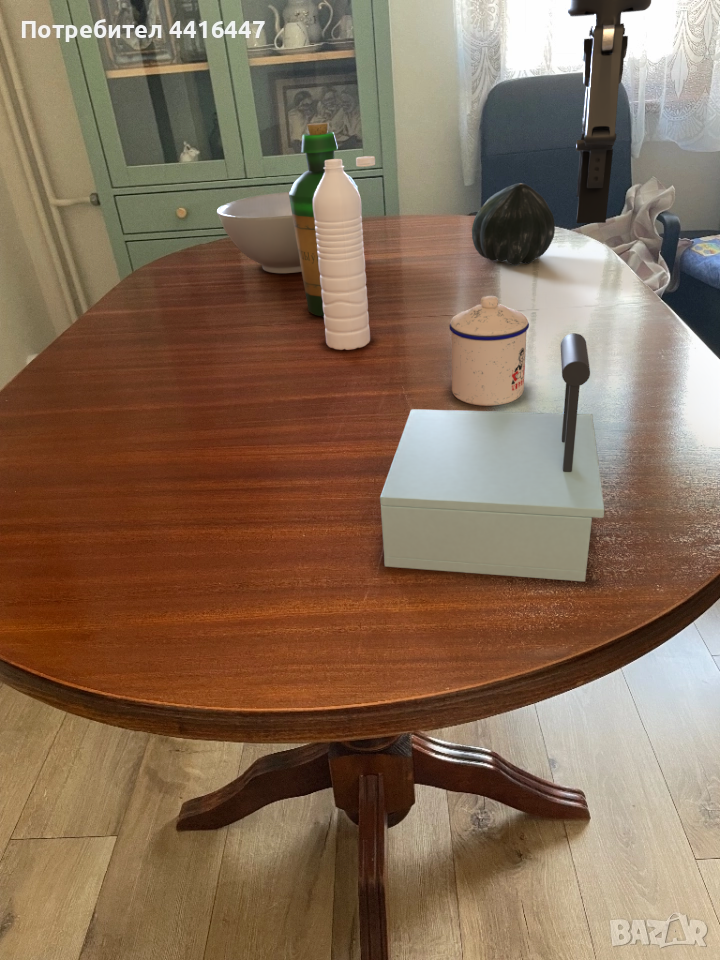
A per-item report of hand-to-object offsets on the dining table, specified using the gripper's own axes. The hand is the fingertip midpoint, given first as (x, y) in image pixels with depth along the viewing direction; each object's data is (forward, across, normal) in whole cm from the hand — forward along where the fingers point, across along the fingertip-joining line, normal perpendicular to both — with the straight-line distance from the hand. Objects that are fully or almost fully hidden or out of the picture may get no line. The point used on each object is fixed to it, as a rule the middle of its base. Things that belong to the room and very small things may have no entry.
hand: (589, 208), depth 77 cm
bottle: (+21, -29, -38) cm, 53 cm away
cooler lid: (+15, +29, -7) cm, 33 cm away
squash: (+21, -60, -11) cm, 65 cm away
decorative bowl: (+21, -58, -55) cm, 83 cm away
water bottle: (+21, -14, -31) cm, 40 cm away
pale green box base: (+21, +29, -7) cm, 36 cm away
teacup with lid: (+21, 0, -10) cm, 23 cm away
